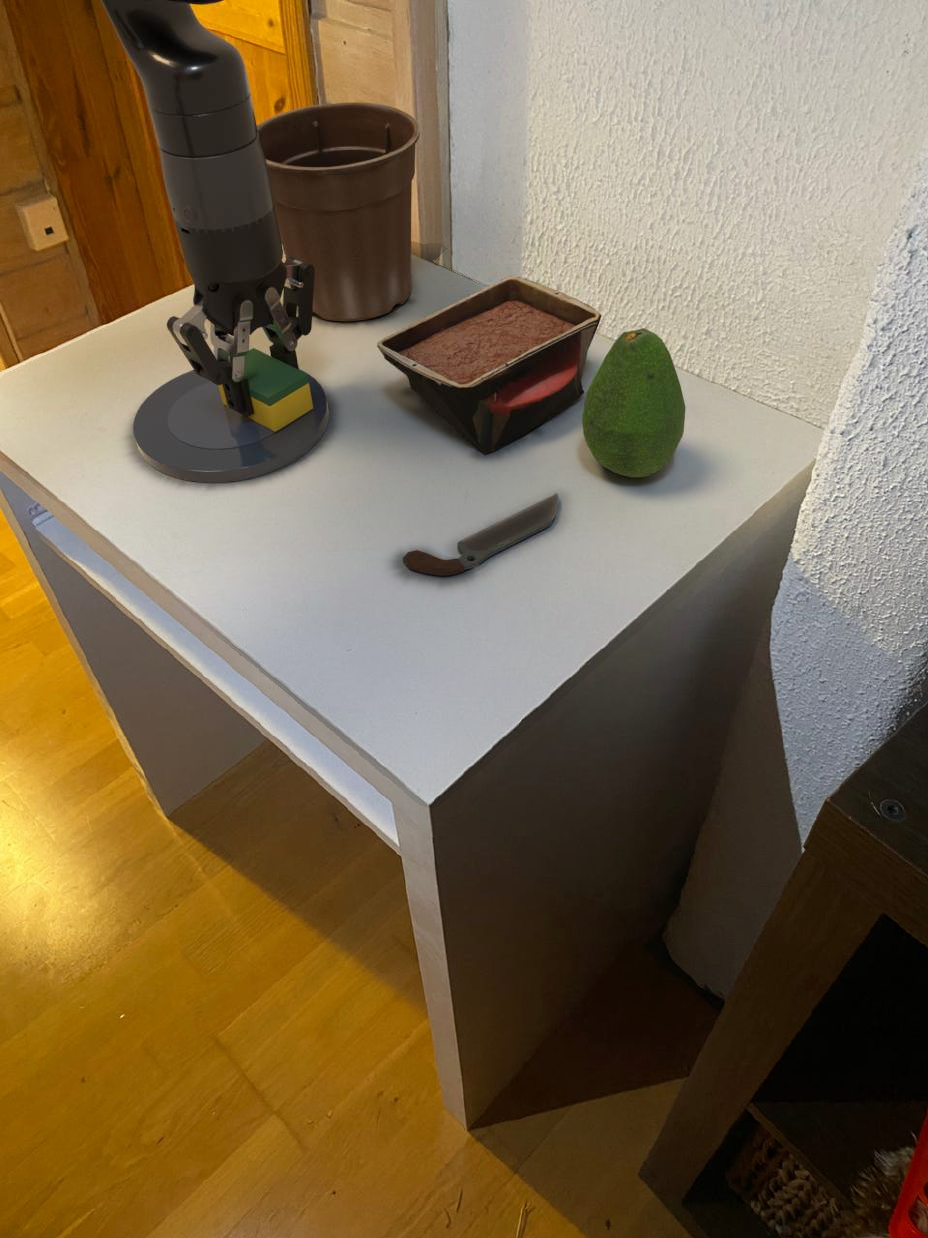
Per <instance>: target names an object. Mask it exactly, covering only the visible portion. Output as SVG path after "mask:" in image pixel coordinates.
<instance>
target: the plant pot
mask: <svg viewBox="0 0 928 1238" xmlns="http://www.w3.org/2000/svg"><path fill="white" fill-rule="evenodd" d="M256 125H257V130H258V135H259V139H260V143H261V146H262V149H263V152H264V155H265V159H266V162H267V166H268V171H269V176H270V182H271V187H272V193H273V198H274V204H275V209H276V215H277V220H278V226H279V231H280V237H281V242H282V248H283V254H284V256H285V260H286V259H287V258H288V257H294V258H296V259H299V260H301V261H303V262H306V263H308V264H311V265H313V266H314V268H315V277H314V294H313V312H312V313H314V314H316V315H318V316H319V317H320V318H321V319H323V320H327V321H334V322H335V321H336V322H356V321H357V322H359V321H365V320H371V319H373V318H378V317H381V316H383V315H386V314H388V313H390V312H391V311H392V309H393V308H394V307H395V306H396V305H397V304H398V305H403V304H404V303H405V302H406V301H407V300H408V299H409V298H410V295H411V291H412V198H413V197H412V196H413V195H412V194H413V193H412V191H413V190H412V189H413V179H414V178H415V173H416V144H417V143H418V141H419V139H420V134H421V128H420V125H419V122H418V121H417V119H416V118H415V117H414V116H412V115H411V114H409V113H408V112H405V111H403V110H401V109H399V108H397V107H393V106H389V105H386V104H380V103H373V102H359V101H358V102H357V101H354V102H353V101H351V102H345V101H344V102H336V103H320V104H315V105H309V106H303V107H299V108H296V109H292V110H288V111H284V112H282V113H279V114H277V115H274V116H272V117H269V118H267V119H265V120H264V121H262V122H260V123H258V124H256Z"/></svg>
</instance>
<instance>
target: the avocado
mask: <svg viewBox="0 0 928 1238" xmlns="http://www.w3.org/2000/svg"><path fill="white" fill-rule="evenodd" d="M673 361H674V360H673V358H672V356H671V353H670V351H669V349H668V347H667V346H666V344H665V342H664V340H663V339H662V338H661V337H660V336H658V335H657V334H656V333H655V332H653V331H651V330H649V329H647V328H645V327H642V328H639V329H634V330H629V331H624V332H622V333H621V334H620V335H619V336H618V338H616V340H615V341H614V342H613V344H612V345H611V347H610V349H609V351H608V352H607V353H606V355H605V357H604V359H603V360H602V362H601V364H600V366H599V368H598V369H597V371H596V373H595V376H594V377H593V379H592V382H591V383H590V385H589V387H588V389H587V390H586V393H585V400H584V404H583V410H582V414H581V415H582V416H581V426H582V433H583V437H584V440H585V443H586V445H587V448H588V449H589V451H590V453H591V454H592V456H593V458H594V459H595V460H596V462H598V463H599V465H601V467H604V468H606V469H607V470H609V471H611V472H613V473H615V474H618V475H621V476H623V477H629V478H647V477H649V476H651V475H653V474H655V473H657V472H658V471H660V470H662V469H664V468H665V467H666V466H667V465H668V464H669V463H670V462H671V460H672V458H673V456H674V454H675V452H676V450H677V448H678V447H679V444H680V442H681V440H682V439H683V437H684V433H685V421H686V404H685V398H684V394H683V391H682V386H681V383H680V379H679V376H678V373H677V370H676V367H675V364H674V362H673Z"/></svg>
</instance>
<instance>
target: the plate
mask: <svg viewBox="0 0 928 1238" xmlns="http://www.w3.org/2000/svg"><path fill="white" fill-rule="evenodd" d="M299 370H300V371H302V372H304V373H306V374H307V376H308V381H309V387H310V392H311V398H312V403H313V409H311V410H310V411H308V412H307V413H305V414H304V415H302V416H300V417H299V418H297V419H296V420H294V421H292V422H291V423H289V424H288V425H286V426H285V427H283V428H281V429H280V430H278V431H277V432H274V431H273V430H271V429H269V428H267V427H265V426H263V425H261V424H260V423H258V422H256V421H254V420H252V419H250V418H249V417H246V416H244V415H242V414H240V413H238V412H236V411H235V410H233V409H231V408H230V407H228V406H226V405H225V404H223V401H222V397H221V393H220V390H219V386H218V385H216V384H214V383H212V381H210V380H208V379H206V378H204V377H201V376H199V375H197V374H196V372H195V371H194V369H192V370H189V371H187V372H184V373H182V374H180V375H178V376H175V377H174V378H171V379H169V380H168V381H167V382H165V383H163V384H161V385H160V386H159V387H158V388H157V389H155V390H154V391H152V393H150V394H149V395H148V396H147V397H146V398H145V399H144V400H143V402H142V403H141V404H140V405H139V408H138V409H137V411H136V413H135V416H134V418H133V422H132V423H133V424H132V434H133V437H134V441H135V443H136V447H137V449H138V452H139V453H140V455H141V457H142V459H144V460H145V461H146V463H147V464H149V466H151V467H152V468H153V469H155V470H157V471H159V472H160V473H162V474H164V475H167V476H170V477H172V478H175V479H179V480H183V481H187V482H195V483H208V484H209V483H211V484H213V483H216V484H217V483H229V482H230V483H232V482H239V481H243V480H249V479H254V478H257V477H260V476H264V475H266V474H271V473H272V472H276V471H277V470H280V469H282V468H284V467H286V466H288V465H291V463H294V462H295V461H297V460H299V459H300V458H301V457H303V456H304V455H305V454H306V453H308V452H309V451H310V450H311V449H312V448H313V447H315V446H316V444H317V443H318V442H319V441H320V439H321V438H322V437H323V435H324V433H325V431H326V429H327V426H328V424H329V417H330V411H329V410H330V409H329V405H328V403H329V402H328V398H327V395H326V391H325V390H324V388H323V386H322V385H321V384H320V382H318V380H317V379H316V378H314V377H313V376H312V375H311V374H309V373H307V371H305V370H302V369H301V368H299Z"/></svg>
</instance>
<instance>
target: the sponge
mask: <svg viewBox="0 0 928 1238" xmlns="http://www.w3.org/2000/svg"><path fill="white" fill-rule="evenodd" d="M300 370H301V369H300ZM300 370H298V369H296V368H294V367H292V366H290V365H287V364H285V363H283V362H281V361H279V360H277V359H275V358H273V357H271V355H269V354H267V353H266V352H263V351H262V350H259V349H257V348H255V347H252V348H249V352H248V353H247V354H245V367H244V376H245V377H247V379H248V383H249V391H250V395H251V400H252V404H253V408H254V414H252V415H251V416H249V418H250V419H252V420H254V421H256V422H258V423H260V424H261V425H263V426H265V427H267V428H269V429H271V430H273V431H274V432H277V431H278V430H280V429H281V428H283V427H285V426H286V425H288V424H289V423H291V422H292V421H294V420H296V419H297V418H299V417H300V416H302V415H304V414H305V413H307V412H308V411H310V410H311V409H313V403H312V398H311V392H310V387H309V381H308V376H307V374H306V373H307V372H306V373H304V372H305V371H304V372H302V371H303V370H302V371H300ZM218 386H219V390H220V393H221V397H222V401H223V404H225V405H226V406H228V405H227V401H226V397H225V393H224V390H223V386H222V385H218ZM228 407H229V406H228Z"/></svg>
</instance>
